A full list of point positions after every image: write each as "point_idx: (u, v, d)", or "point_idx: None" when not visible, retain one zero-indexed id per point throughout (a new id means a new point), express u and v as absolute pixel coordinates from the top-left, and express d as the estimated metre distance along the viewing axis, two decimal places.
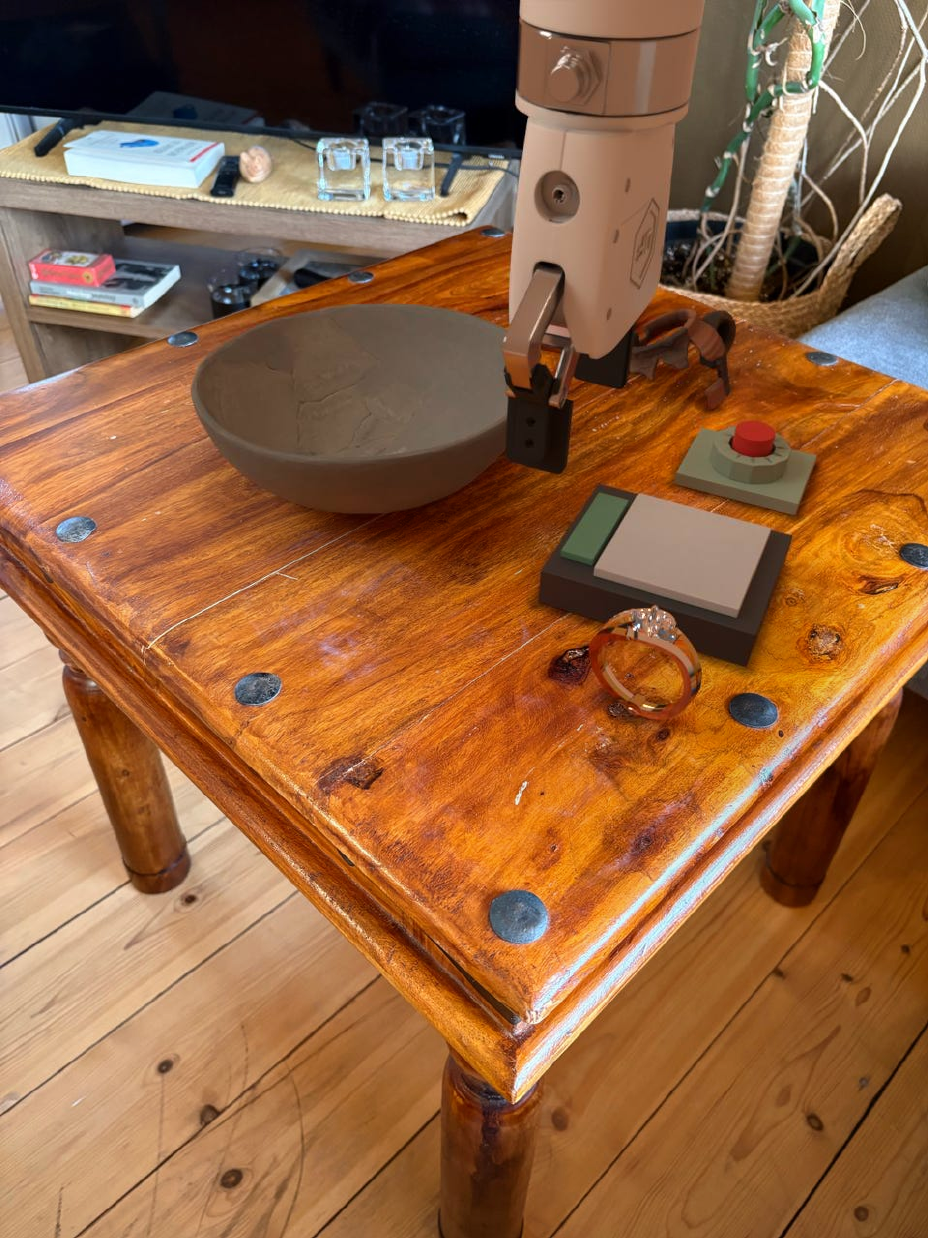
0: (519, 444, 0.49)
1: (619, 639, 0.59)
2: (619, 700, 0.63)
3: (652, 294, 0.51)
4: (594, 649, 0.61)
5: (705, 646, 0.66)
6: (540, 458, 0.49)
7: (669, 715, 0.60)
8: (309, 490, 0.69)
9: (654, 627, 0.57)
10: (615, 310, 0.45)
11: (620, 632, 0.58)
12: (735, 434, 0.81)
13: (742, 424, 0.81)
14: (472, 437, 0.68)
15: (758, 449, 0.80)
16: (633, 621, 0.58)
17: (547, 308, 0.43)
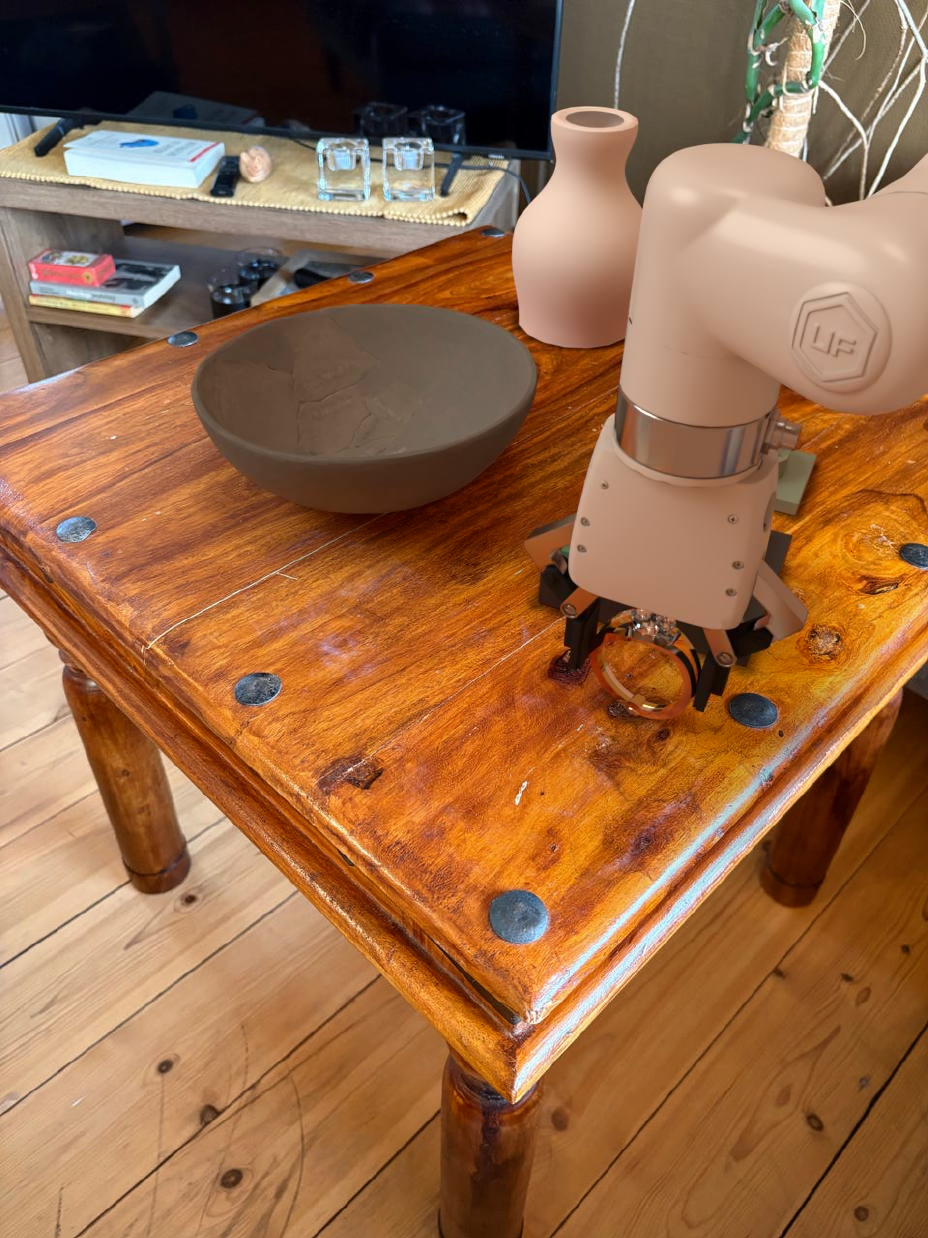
0: (723, 689, 0.58)
1: (619, 639, 0.59)
2: (619, 700, 0.63)
3: None
4: (594, 649, 0.61)
5: (705, 646, 0.66)
6: (726, 682, 0.59)
7: (669, 715, 0.60)
8: (309, 490, 0.69)
9: (654, 627, 0.57)
10: None
11: (620, 632, 0.58)
12: None
13: None
14: (472, 436, 0.68)
15: None
16: (633, 621, 0.58)
17: (780, 583, 0.53)
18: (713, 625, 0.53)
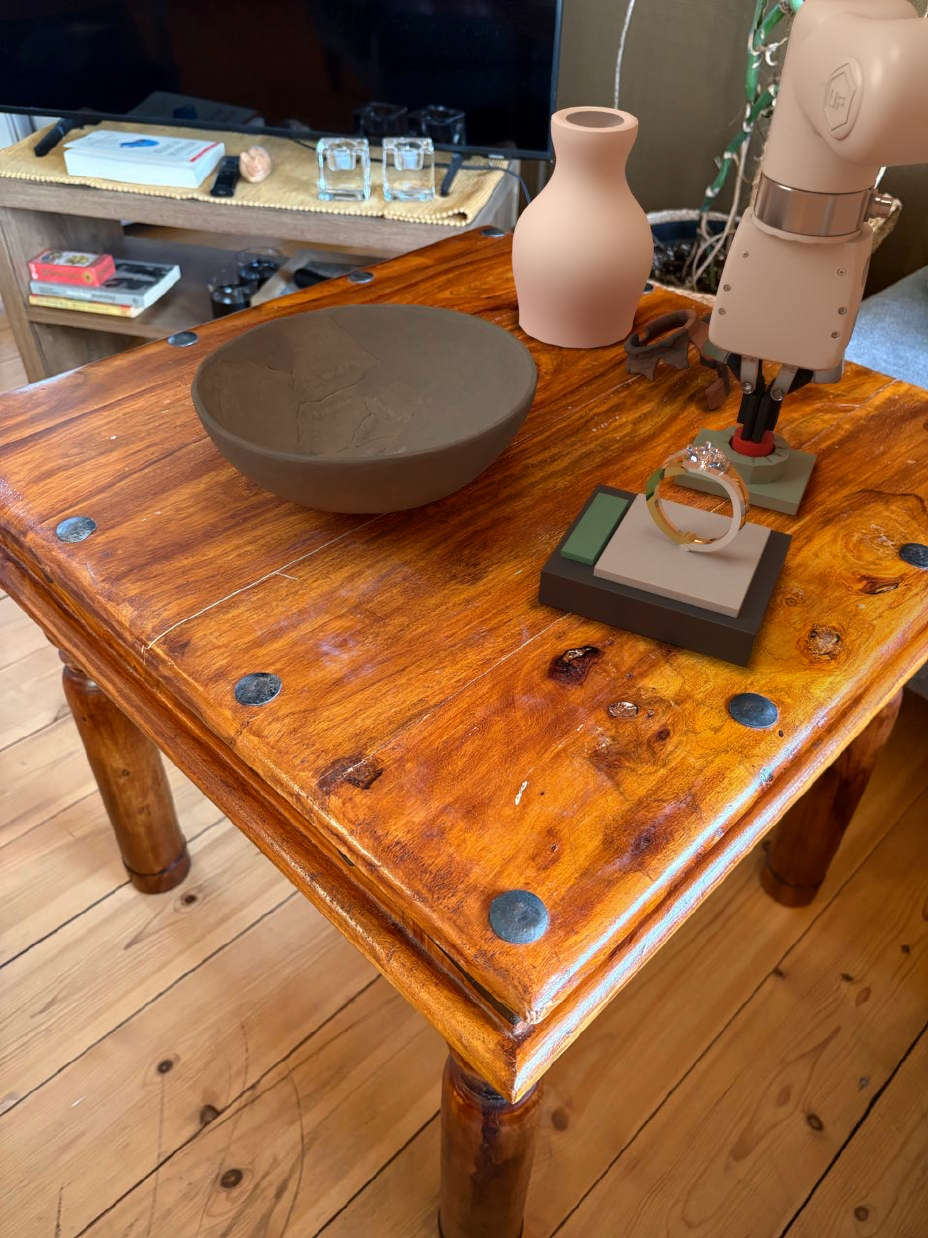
0: (775, 423, 0.79)
1: (675, 473, 0.65)
2: (672, 537, 0.69)
3: None
4: (651, 487, 0.68)
5: (705, 646, 0.66)
6: (776, 422, 0.80)
7: (719, 545, 0.67)
8: (309, 490, 0.69)
9: (708, 458, 0.64)
10: None
11: (677, 465, 0.65)
12: (734, 438, 0.81)
13: (741, 428, 0.81)
14: (472, 436, 0.68)
15: (757, 453, 0.80)
16: (688, 455, 0.65)
17: None
18: (819, 365, 0.73)
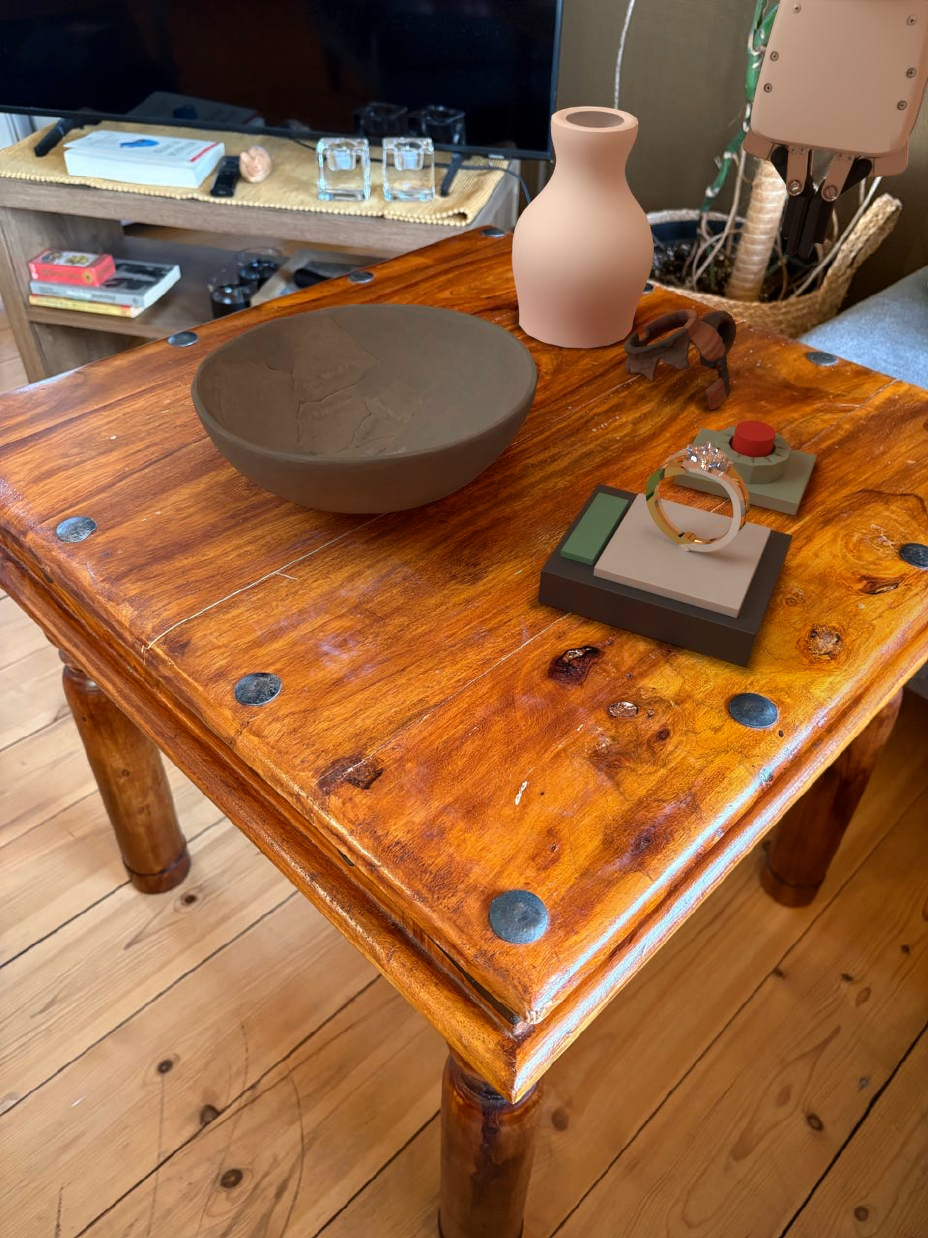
0: (825, 233, 0.69)
1: (675, 473, 0.65)
2: (672, 537, 0.69)
3: None
4: (651, 487, 0.68)
5: (705, 646, 0.66)
6: (826, 235, 0.70)
7: (719, 545, 0.67)
8: (309, 490, 0.69)
9: (708, 458, 0.64)
10: None
11: (677, 465, 0.65)
12: (735, 434, 0.81)
13: (742, 424, 0.81)
14: (472, 436, 0.68)
15: (758, 449, 0.80)
16: (688, 455, 0.65)
17: None
18: (881, 148, 0.63)
